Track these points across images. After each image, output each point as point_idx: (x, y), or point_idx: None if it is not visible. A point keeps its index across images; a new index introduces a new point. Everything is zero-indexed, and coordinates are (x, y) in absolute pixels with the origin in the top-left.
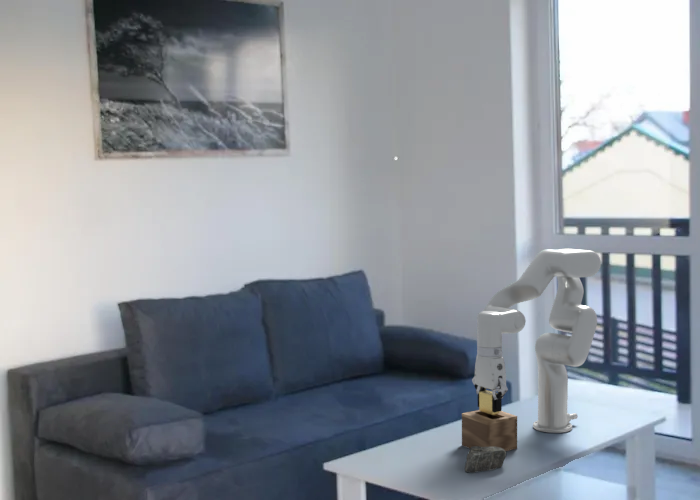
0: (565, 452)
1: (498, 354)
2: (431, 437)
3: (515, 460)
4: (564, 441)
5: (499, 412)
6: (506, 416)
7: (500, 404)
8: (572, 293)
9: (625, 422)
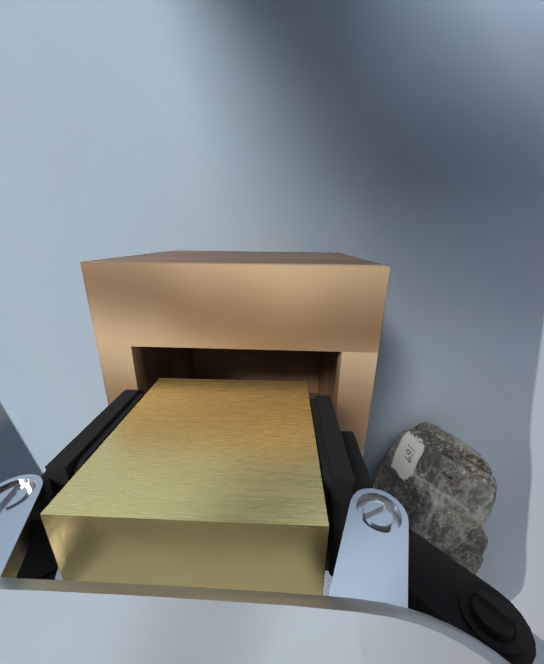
0: (535, 89)
1: None
2: (61, 417)
3: (432, 357)
4: None
5: (306, 385)
6: (341, 339)
7: (362, 462)
8: None
9: None
